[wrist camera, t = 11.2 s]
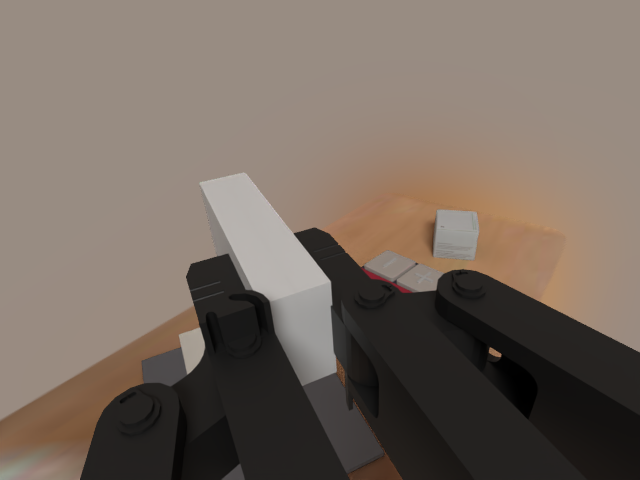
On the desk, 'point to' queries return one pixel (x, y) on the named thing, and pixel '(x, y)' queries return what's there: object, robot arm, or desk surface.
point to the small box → (455, 234)
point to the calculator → (402, 272)
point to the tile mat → (326, 398)
